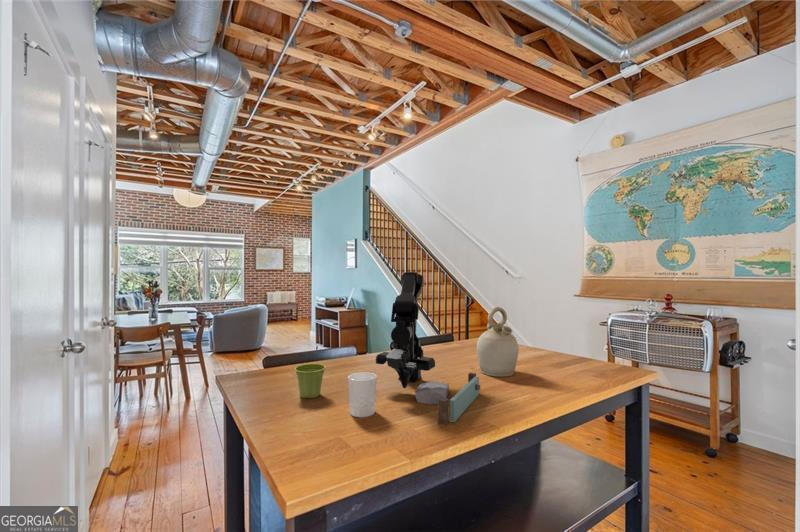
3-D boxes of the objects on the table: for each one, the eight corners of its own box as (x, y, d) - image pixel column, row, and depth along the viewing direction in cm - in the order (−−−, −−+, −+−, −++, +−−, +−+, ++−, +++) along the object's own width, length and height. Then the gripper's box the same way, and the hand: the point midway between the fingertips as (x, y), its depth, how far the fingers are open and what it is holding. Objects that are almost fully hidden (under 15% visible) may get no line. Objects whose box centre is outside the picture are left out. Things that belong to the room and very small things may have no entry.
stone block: (414, 409, 107) (448, 405, 105) (411, 393, 107) (445, 388, 105) (420, 397, 118) (451, 393, 116) (418, 382, 119) (448, 378, 117)
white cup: (365, 421, 94) (365, 382, 94) (341, 414, 98) (341, 377, 98) (382, 411, 100) (382, 374, 100) (360, 405, 105) (360, 370, 105)
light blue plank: (438, 423, 92) (438, 400, 92) (470, 391, 117) (470, 372, 117) (445, 425, 91) (445, 401, 91) (476, 392, 116) (476, 373, 116)
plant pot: (331, 395, 113) (331, 367, 113) (305, 403, 106) (305, 373, 106) (314, 388, 119) (314, 362, 120) (288, 395, 113) (288, 367, 113)
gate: (449, 421, 93) (449, 399, 93) (475, 393, 114) (475, 376, 114) (458, 423, 92) (458, 401, 92) (482, 395, 113) (482, 377, 113)
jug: (524, 378, 131) (524, 309, 131) (481, 378, 131) (481, 309, 131) (511, 367, 146) (511, 305, 146) (473, 367, 146) (473, 305, 147)
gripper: (366, 340, 113) (366, 390, 113) (421, 346, 104) (421, 400, 104) (384, 334, 123) (384, 381, 123) (435, 339, 114) (435, 389, 114)
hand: (404, 387), depth 116 cm, fingers closed
